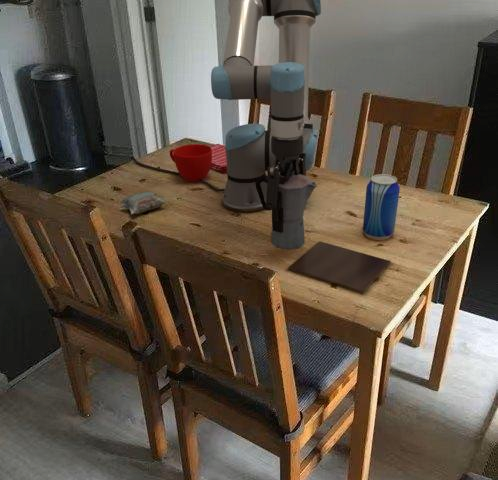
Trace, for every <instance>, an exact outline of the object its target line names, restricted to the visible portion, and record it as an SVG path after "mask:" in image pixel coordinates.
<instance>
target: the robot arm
mask: <svg viewBox="0 0 498 480" xmlns="http://www.w3.org/2000/svg"><path fill="white" fill-rule="evenodd" d="M227 10H228V15H229V17H230V18H229V23H228V30H227V36H226V42H225V47H224V48H225V49H224V54H223V60H222V64H221V65H218V66H214V67H212V69H211V72H210V87H211V94H212V96H213V97H214V99H216V100H227V101H237V100H239V101H240V100H241V101H242V100H270V112H271V113H270V130H266V127H265V125H264V124H262V123H246V124H242V125H238V126H235V127H232V128H231V129H229V131H227V133H226V134H225V145H224V146H225V150H226V162H227V172H226V176H227V178H226V179H227V180H226V184H225V187H224V188H218V187H215V186H213V184H211V183H210V182H207V181H206V180H205V179H204V180H201V179H200V180H199V182H201V183H203V184H205V185H207V186H209V187H210V188H211V189H213V190H214V191H217V192H223V194H222V205H223V206H224V207H225V209H228V210H229V211H230V210H231V211H233V212H237V213H253V212H259V211H263V210H264V209H263V207H262V203H261V200H260V198H259V194H258V192H257V189H256V184H255V182H256V181H257V180H258V178H260V176H262V175H263V174H264V175H266V173H267V176H268V183H266V182H261V183H260V186H261V189H262V192H263V195H264V201H265V202H266V207H267V208H270V209H272V210H271V223H272V224H271V232H272V231H276V232H279V233H282V232H283V208H282V207H281V204H282V193H281V192H279V191H278V189H279V184H282V185H283V184H284V183H285V182H286V181H288V180H289V176H290V171H291V170H292V169H294V170H295V172H294V174H295V175H298V174H301V175H305V176H307V172H308V171H310V170H311V169H312V167H313V164H314V160H315V152H316V147H317V139H318V133H319V132H318V130H317V129H314V123H313V122H312V121H311V120H310V118H309V87H310V86H309V85H310V84H309V82H310V81H309V79H310V45H311V44H310V41H311V40H310V39H311V37H310V36H311V28H312V27H313V26H314V25H315V23H316V22H317V21H316V19H317V18H316V17H318V16H320V15H321V13H322V2H321V0H228V5H227ZM263 17H273V23H274V25H275V27H277V28H278V63H276V64H273V65H272V64H271V65H270V64H268V65H267V64H266V65H255V59H256V48H257V40H258V39H257V38H258V29H259V21H261V19H262V18H263ZM130 160H131V161H134V162H135V164H138V165H139V166H141V167H145V168H147V169H151V170H156V171H160V172H164V173H170V174H173V175H178V176H181V174H180V173H179V172H178V171H173V170H168V169H163V168H161V167H155V166H151V165H148V164H145V163H142V162H139V161H138V160H137V159H136V157H135V156H131V158H130ZM279 175H281V176H285V177H280V176H279Z"/></svg>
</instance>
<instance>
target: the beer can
mask: <svg viewBox="0 0 498 480" xmlns="http://www.w3.org/2000/svg"><path fill="white" fill-rule="evenodd" d="M400 189H401V187H400V185H399V183H398V178H397V177H396V176H395V175H391V174H386V173H381V174H380V173H379V174H374V175H373V176H371V178H370V181H369V182H368V183H367V185H366V189H365V200H364V201H365V202H364V211H363V221H362V231H363V233H364V235H365V236H366V237H367V238H368V239H370V240H374V241H384V240H388V239H390V238H391V236H393V235H394V233H395V231H396V230H395V228H396V220H397V215H398V214H397V213H398V206H399V198H400Z"/></svg>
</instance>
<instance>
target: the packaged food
mask: <svg viewBox="0 0 498 480" xmlns="http://www.w3.org/2000/svg"><path fill="white" fill-rule="evenodd" d="M167 202H168V201H167V200H166V199H163V198H161V197H159V196H158V195H157V194H156V193H155V192H152V191H148V190H146V191H142V192H139V193H135V194H130V195H128V196H126V197H124V198H122V201H121V202H120V205H119V206H120V208H121V209H122V208H124V209H127V210H129V212H130V215H131V216H132V215H134V214H135V215H140V214H142V213H146V212H149V211H152V210H155V209H157V208H160V207H162V206H163V205H165V204H167Z"/></svg>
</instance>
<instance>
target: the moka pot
mask: <svg viewBox="0 0 498 480" xmlns="http://www.w3.org/2000/svg"><path fill="white" fill-rule="evenodd" d="M294 172H295V170H294V169H292V170H291V171H290V176H289V180H288V181H286V182H285V183H284V184H283V185H282V184H279V189H278V191H279V192H281V193H282V204H281V207H282V208H283V232H282V233H279V232H276V231H272V230H271V233H270V243H271V245H272V246H273V247H275V248H277V249H278V250H279V249H280V250H284V251H294V250H298V249H300V248H302V247H304V245H305V243H306V240H305V239H306V238H305V223H304V215H305V214H304V213H305V211H306V210H307V209H306V208H307V203H308V200H309V199H310V197H311V196H312V193H313V191H314V190H315V188H317V187H318V184H317V182H315V181H313V180H311V179H310V178H309V176H307V175H306V176H305V175H301V174H298V175H295V174H294ZM279 176H280V177H285V176H281V175H279ZM261 182H266V183H268V174H267V175H264V174H263V175H262V176H260V178H258V180H257V181H256V182H255V184H256V189H257V192H258V194H259V198H260V200H261V203H262V207H263V210H265V211H271V212H272V209H270V208H267V207H266V202H265V201H264V195H263V192H262V189H261V186H260V183H261Z"/></svg>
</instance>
